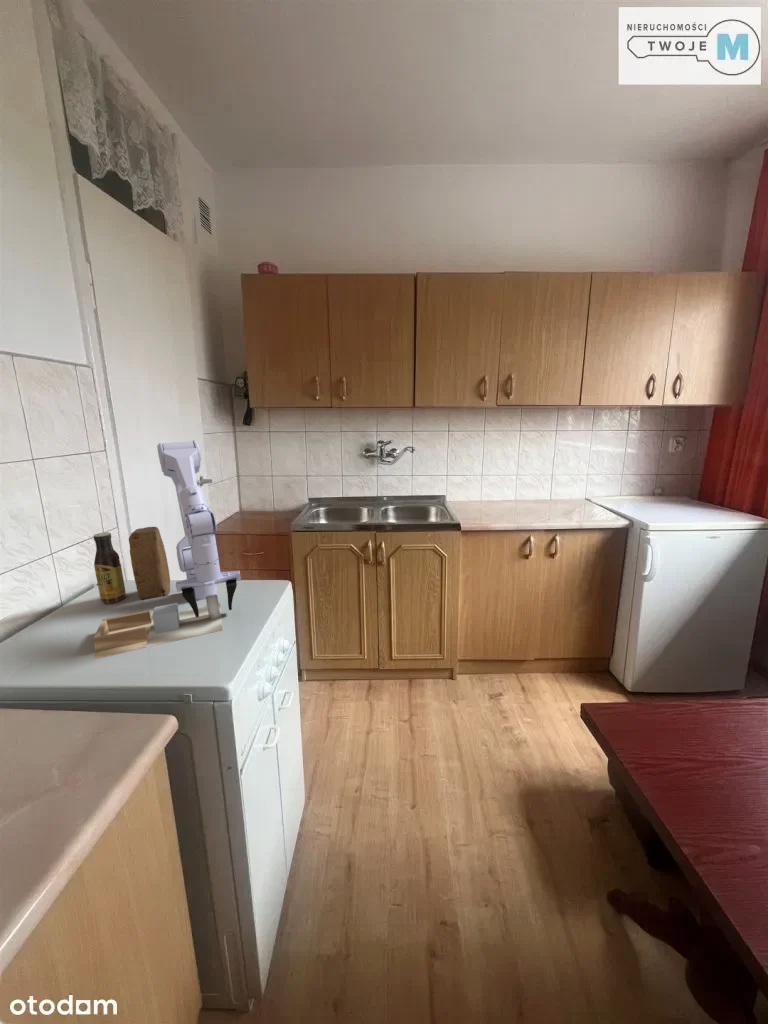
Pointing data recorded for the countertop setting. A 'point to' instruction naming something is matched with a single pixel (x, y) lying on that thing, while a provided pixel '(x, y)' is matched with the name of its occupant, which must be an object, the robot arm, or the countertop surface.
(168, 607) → the block
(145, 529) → the block
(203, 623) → the shelf lane
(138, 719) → the countertop surface
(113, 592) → the sauce bottle
